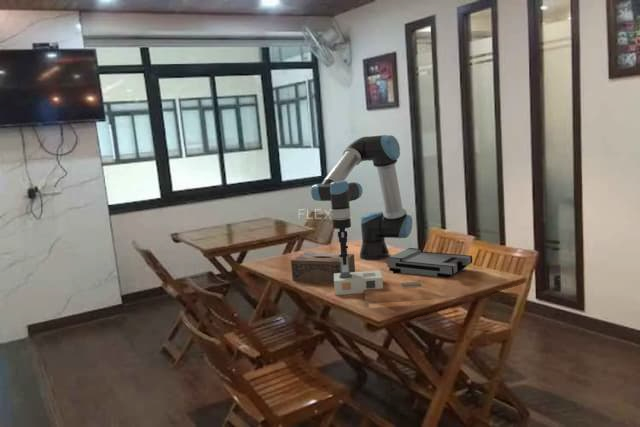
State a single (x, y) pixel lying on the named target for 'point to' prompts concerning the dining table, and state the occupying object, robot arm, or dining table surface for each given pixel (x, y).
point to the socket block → (357, 282)
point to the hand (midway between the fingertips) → (345, 267)
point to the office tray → (427, 263)
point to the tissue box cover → (318, 266)
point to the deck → (411, 284)
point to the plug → (345, 274)
